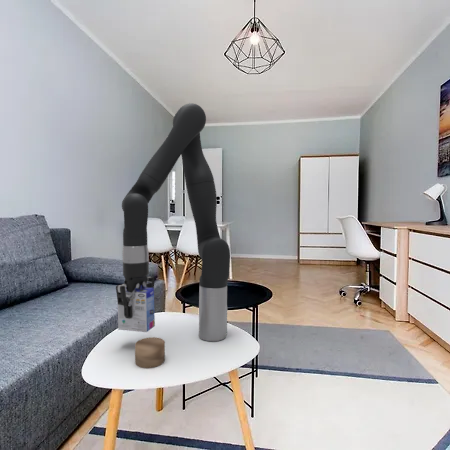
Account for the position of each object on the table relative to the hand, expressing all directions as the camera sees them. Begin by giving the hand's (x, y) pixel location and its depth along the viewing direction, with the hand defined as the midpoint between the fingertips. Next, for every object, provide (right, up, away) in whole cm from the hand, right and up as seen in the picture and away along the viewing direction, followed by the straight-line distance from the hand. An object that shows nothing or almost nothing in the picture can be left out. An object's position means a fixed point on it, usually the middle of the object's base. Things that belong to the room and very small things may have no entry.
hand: (136, 314), depth 96 cm
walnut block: (+6, -11, -8) cm, 15 cm away
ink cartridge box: (0, -5, 0) cm, 5 cm away
